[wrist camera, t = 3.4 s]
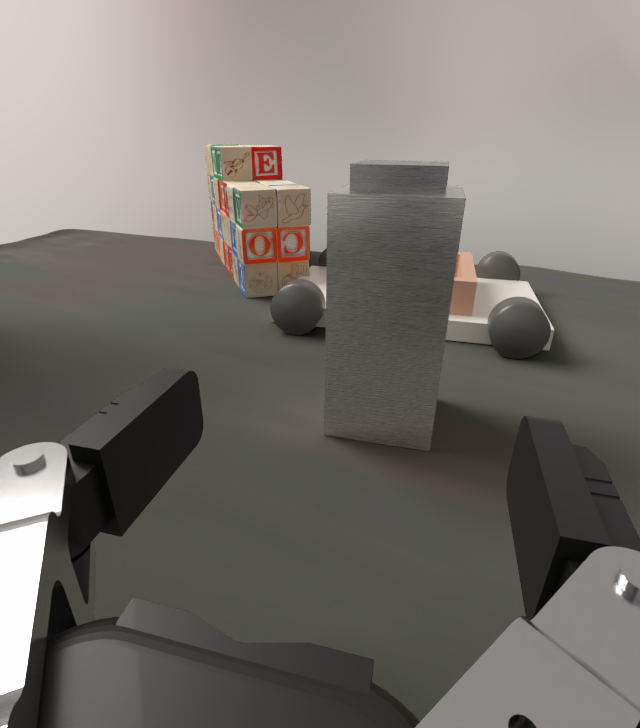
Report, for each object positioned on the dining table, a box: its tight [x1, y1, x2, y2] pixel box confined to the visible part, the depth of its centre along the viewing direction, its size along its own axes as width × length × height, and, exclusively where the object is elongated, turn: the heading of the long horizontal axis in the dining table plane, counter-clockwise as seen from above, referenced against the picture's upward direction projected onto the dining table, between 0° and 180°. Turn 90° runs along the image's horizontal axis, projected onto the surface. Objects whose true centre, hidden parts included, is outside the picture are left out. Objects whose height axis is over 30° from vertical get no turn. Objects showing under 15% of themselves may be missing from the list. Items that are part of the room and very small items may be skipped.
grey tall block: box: [324, 160, 466, 451], centre depth 21 cm, size 5×5×12 cm
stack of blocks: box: [204, 144, 311, 298], centre depth 48 cm, size 21×6×12 cm, turn 19°
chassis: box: [270, 248, 555, 359], centre depth 38 cm, size 20×16×4 cm
